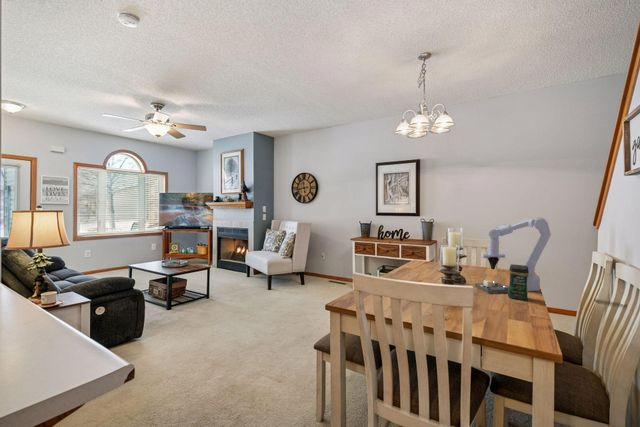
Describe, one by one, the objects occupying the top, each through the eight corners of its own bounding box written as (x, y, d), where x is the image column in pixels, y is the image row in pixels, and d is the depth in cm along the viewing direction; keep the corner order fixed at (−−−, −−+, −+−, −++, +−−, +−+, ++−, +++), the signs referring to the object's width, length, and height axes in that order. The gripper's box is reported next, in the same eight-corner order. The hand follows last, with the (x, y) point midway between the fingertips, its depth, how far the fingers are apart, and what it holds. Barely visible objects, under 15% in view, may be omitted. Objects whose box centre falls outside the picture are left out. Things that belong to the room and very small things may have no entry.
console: (499, 285, 211) (499, 280, 211) (513, 292, 197) (514, 287, 197) (474, 286, 210) (475, 281, 209) (488, 293, 196) (488, 287, 195)
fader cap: (487, 284, 205) (487, 279, 205) (491, 286, 201) (491, 281, 201) (483, 285, 205) (483, 280, 204) (487, 286, 201) (487, 281, 200)
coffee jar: (507, 298, 187) (508, 265, 186) (507, 294, 194) (509, 262, 193) (527, 301, 182) (529, 267, 181) (527, 297, 189) (529, 264, 188)
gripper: (500, 246, 218) (499, 267, 219) (479, 246, 216) (478, 267, 217) (507, 248, 211) (506, 269, 212) (485, 248, 209) (484, 270, 210)
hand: (492, 268), depth 214 cm, fingers closed
